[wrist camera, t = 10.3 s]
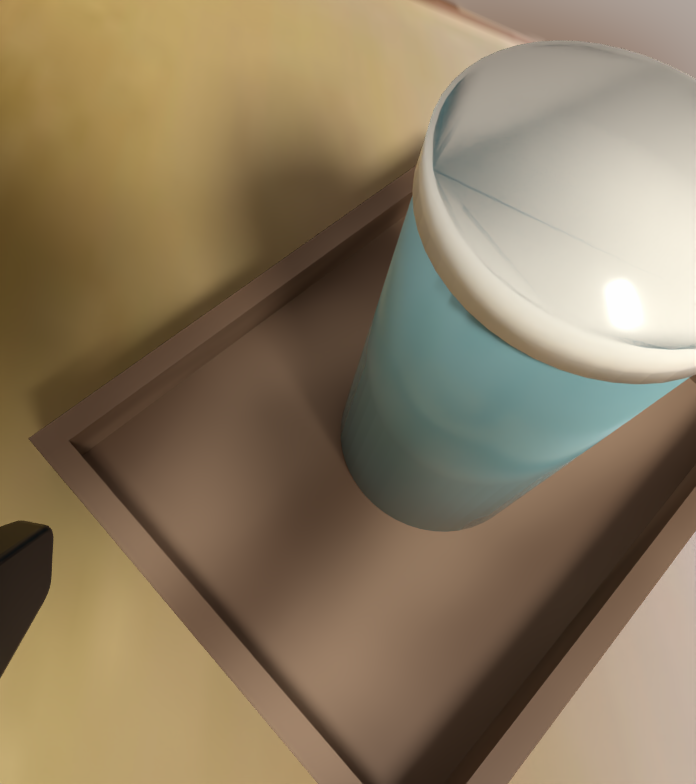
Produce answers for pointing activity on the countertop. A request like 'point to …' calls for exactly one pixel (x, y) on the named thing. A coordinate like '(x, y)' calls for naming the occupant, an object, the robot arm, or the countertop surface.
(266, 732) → the countertop surface
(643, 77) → the cup
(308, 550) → the tray
